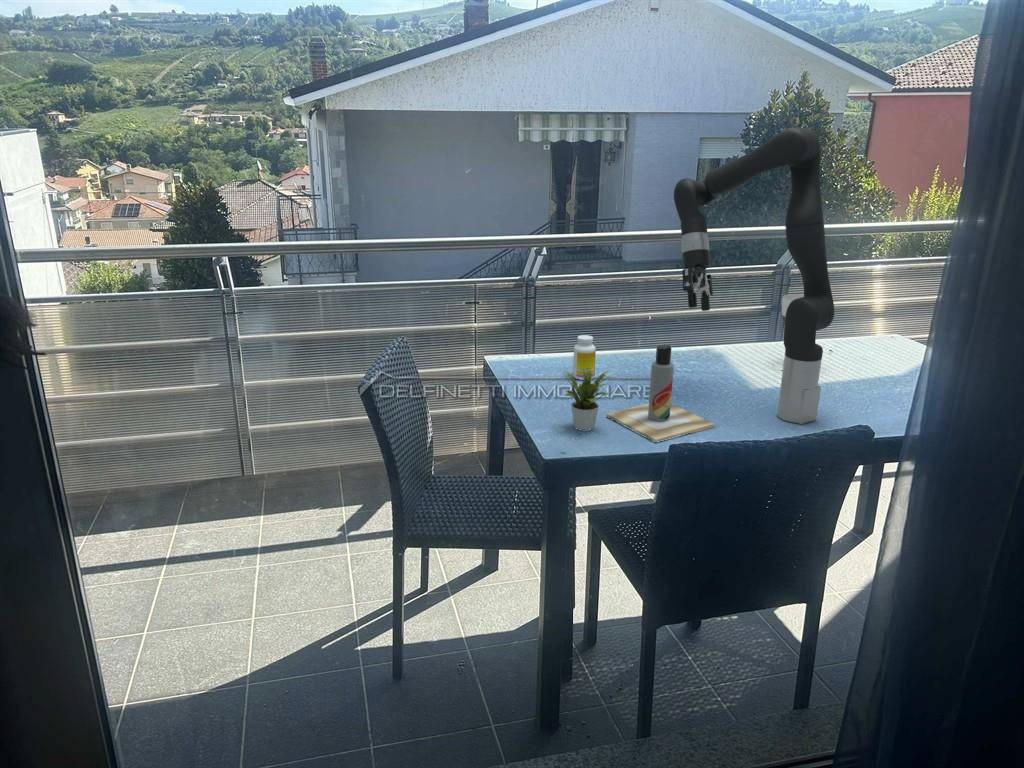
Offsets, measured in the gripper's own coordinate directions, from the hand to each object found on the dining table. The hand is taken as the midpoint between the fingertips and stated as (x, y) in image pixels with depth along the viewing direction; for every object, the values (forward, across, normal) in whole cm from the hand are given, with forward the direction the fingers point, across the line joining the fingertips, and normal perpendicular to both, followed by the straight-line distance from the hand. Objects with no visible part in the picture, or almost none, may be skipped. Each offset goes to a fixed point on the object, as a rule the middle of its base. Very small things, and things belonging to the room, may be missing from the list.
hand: (699, 309), depth 217 cm
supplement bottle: (+16, +2, +40) cm, 43 cm away
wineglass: (+15, +50, -7) cm, 53 cm away
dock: (+31, -14, +7) cm, 34 cm away
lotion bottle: (+30, -14, +7) cm, 34 cm away
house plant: (+32, -29, +20) cm, 48 cm away
